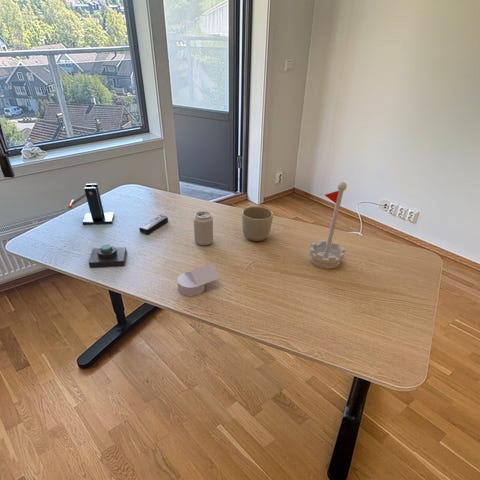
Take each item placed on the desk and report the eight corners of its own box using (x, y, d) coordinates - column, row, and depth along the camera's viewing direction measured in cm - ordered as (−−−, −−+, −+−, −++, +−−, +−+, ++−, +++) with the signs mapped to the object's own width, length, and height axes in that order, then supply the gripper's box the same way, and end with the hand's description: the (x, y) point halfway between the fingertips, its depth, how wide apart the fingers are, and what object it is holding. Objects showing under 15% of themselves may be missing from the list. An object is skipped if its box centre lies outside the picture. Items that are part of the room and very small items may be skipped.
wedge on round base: (206, 273, 123) (173, 285, 117) (206, 257, 119) (171, 268, 113) (219, 286, 118) (186, 299, 112) (220, 270, 113) (184, 282, 107)
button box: (89, 268, 123) (87, 258, 120) (94, 253, 130) (91, 244, 128) (124, 266, 125) (122, 256, 122) (126, 252, 132) (124, 242, 130)
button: (101, 253, 124) (99, 249, 123) (102, 248, 126) (101, 244, 125) (111, 253, 124) (110, 249, 123) (112, 248, 127) (111, 244, 126)
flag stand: (343, 255, 136) (364, 178, 117) (340, 273, 127) (362, 192, 107) (310, 249, 139) (325, 173, 119) (305, 266, 130) (320, 185, 110)
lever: (71, 210, 144) (66, 205, 142) (73, 204, 148) (69, 199, 147) (95, 193, 141) (91, 188, 140) (97, 188, 146) (93, 183, 144)
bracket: (82, 224, 147) (73, 190, 138) (86, 215, 154) (77, 182, 144) (112, 223, 149) (104, 189, 139) (114, 214, 156) (107, 181, 146)
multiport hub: (168, 221, 153) (168, 216, 151) (148, 235, 143) (147, 230, 141) (160, 219, 154) (159, 214, 153) (139, 232, 144) (138, 227, 143)
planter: (264, 229, 151) (267, 205, 144) (274, 242, 142) (277, 218, 135) (237, 231, 148) (238, 207, 141) (245, 246, 139) (247, 220, 132)
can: (208, 236, 144) (207, 208, 136) (216, 244, 139) (216, 215, 132) (191, 239, 141) (190, 211, 133) (199, 248, 136) (198, 219, 129)
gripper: (-17, 95, 93) (15, 184, 108) (0, 87, 102) (28, 169, 118) (-48, 94, 92) (-11, 184, 107) (-28, 86, 101) (4, 169, 117)
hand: (9, 176), depth 113 cm, fingers closed
